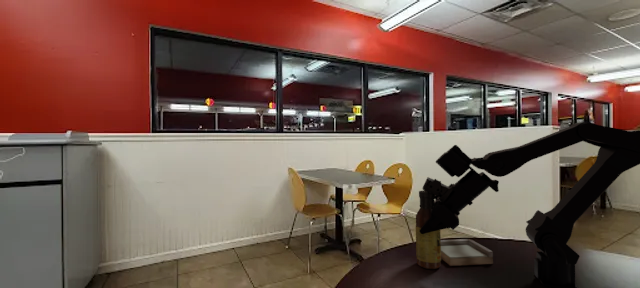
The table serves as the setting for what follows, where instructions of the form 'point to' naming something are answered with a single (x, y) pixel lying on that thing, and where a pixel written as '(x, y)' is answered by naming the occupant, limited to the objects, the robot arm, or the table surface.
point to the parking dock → (465, 252)
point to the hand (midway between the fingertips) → (420, 228)
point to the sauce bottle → (427, 235)
